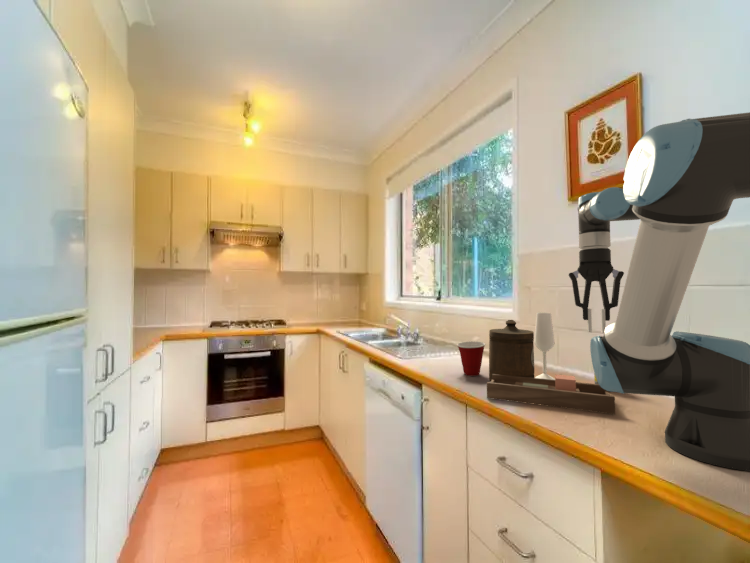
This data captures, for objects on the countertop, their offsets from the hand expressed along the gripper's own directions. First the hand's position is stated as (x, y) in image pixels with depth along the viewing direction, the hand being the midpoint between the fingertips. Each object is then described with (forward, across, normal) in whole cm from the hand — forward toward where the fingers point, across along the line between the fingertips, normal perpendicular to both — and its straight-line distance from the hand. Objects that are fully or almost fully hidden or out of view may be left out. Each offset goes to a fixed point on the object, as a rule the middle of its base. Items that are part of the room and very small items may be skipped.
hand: (596, 332), depth 96 cm
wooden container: (+21, +24, -16) cm, 35 cm away
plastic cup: (+21, +39, -22) cm, 49 cm away
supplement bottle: (+21, -4, -20) cm, 29 cm away
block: (+18, +8, 0) cm, 19 cm away
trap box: (+21, +13, 0) cm, 24 cm away
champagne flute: (+21, +14, -26) cm, 36 cm away
